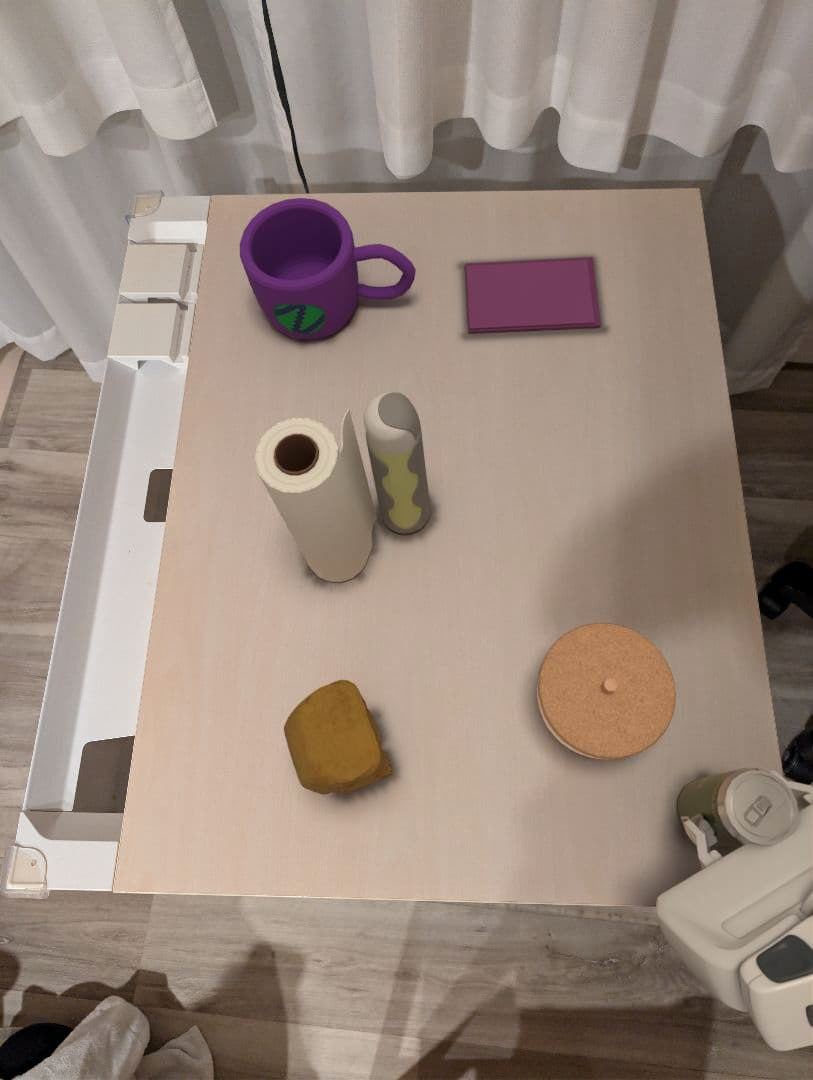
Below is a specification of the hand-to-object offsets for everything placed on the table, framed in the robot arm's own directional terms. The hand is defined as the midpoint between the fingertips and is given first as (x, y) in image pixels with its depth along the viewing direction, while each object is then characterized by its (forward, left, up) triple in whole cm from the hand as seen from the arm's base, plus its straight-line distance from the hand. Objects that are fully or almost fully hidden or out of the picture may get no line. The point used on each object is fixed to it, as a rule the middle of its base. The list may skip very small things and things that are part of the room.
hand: (728, 801), depth 59 cm
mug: (+32, -52, -7) cm, 62 cm away
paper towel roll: (+31, -24, -7) cm, 39 cm away
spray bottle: (+25, -28, -7) cm, 38 cm away
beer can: (0, +1, -7) cm, 7 cm away
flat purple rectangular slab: (+11, -53, -6) cm, 54 cm away
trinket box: (+9, -9, -7) cm, 14 cm away
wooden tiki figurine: (+30, -5, -7) cm, 31 cm away
